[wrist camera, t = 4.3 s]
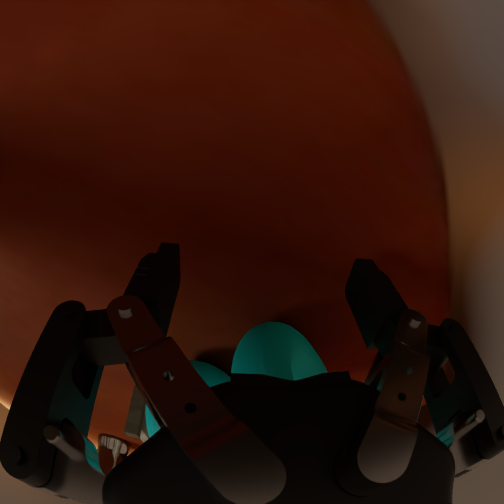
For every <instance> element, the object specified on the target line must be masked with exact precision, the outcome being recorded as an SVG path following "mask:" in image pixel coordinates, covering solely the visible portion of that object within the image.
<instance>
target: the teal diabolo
mask: <svg viewBox="0 0 504 504" xmlns="http://www.w3.org/2000/svg"><path fill="white" fill-rule="evenodd" d="M189 362H190V363H191V364H192V366H193V367H194V368H195V370H196V371H197V372H198V374H199V375H200V376H201V377H202V379H203V380H204V381H205V383H206V384H207V385H208V386H209V388H210V387H212V386H214V385H217V384H221V383H224V382H230V380H231V377H230V376H228V375H227V374H226V373H225V372H223V371H222V370H220V369H219V368H217V367H215V366H213V365H211V364H208V363H206V362H202V361H195V360H189ZM231 373H245V374H264V375H269V376H273V377H278V378H283V379H288V380H299V379H303V378H307V377H310V376H314V375H317V374H321V373H328V372H327V370H326V368H325V366H324V364H323V362H322V361H321V359H320V357H319V356H318V354H317V353H316V351H315V350H314V348H313V347H312V346H311V344H310V343H309V342H308V340H307V339H306V338H305V337H304V336H303V335H302V334H301V333H300V332H298V331H297V330H296V329H294V328H293V327H291V326H289V325H287V324H284V323H281V322H265V323H261V324H259V325H257V326H255V327H253V328H252V329H251V330H249V331H248V332H247V333H246V334H245V335H244V337H243V338H242V339H241V341H240V342H239V344H238V346H237V349H236V351H235V354H234V357H233V362H232V369H231ZM145 416H146V426H147V430H148V434H149V437H151V436H152V435H154V434H155V433H156V432H157V431H158V430H159V429H160V427H159V425H158V424H157V422H156V421H155V419H154V417H153V416H152V414H151V412H150V410H149V409H148V407H147V405H146V410H145Z"/></svg>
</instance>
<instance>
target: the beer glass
mask: <svg viewBox="0 0 504 504" xmlns="http://www.w3.org/2000/svg"><path fill="white" fill-rule="evenodd" d="M130 448H131V445H130V444H129V443H128V442H126V441H124V440H122V439H120V438H117V437H114V436H111V435H108V434H99V435H98V448H97V452H98V458H99V466H100V469H101V471H102V472H103V474H104V475H105V476H107V475H108V473H109V472H110V471H111V470H112V468H114V467H115V466H116V465H117V464H118V463H120V462H121V461H122V460H123V459H125V458H126V457H127V455H128V453H129V451H130Z"/></svg>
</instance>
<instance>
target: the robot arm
mask: <svg viewBox="0 0 504 504" xmlns="http://www.w3.org/2000/svg"><path fill="white" fill-rule="evenodd" d="M179 285H180V251H179V244H174V243H161V245H160V247H159V249H158V251H157V253H149V254H147V255H146V256H145V257H144V258H142V259H141V261H140V263H139V265H138V267H137V269H136V270H135V272H134V274H133V276H132V278H131V280H130V282H129V284H128V286H127V288H126V290H125V292H124V295H123V296H119V297H117V298H115V299H113V300H112V301H111V302H110V303H109V305H108V307H107V309H102V310H93V311H86V309H85V306H84V305H83V304H82V303H81V302H79V301H74V300H71V301H66V302H63V303H61V304H60V305H58V306H57V307H56V308H55V310H54V311H53V313H52V315H51V317H50V318H49V320H48V322H47V324H46V326H45V328H44V330H43V332H42V334H41V336H40V338H39V340H38V342H37V344H36V346H35V348H34V350H33V352H32V354H31V357H30V359H29V361H28V363H27V366H26V368H25V370H24V373H23V375H22V378H21V380H20V383H19V385H18V388H17V390H16V393H15V396H14V398H13V401H12V404H11V407H10V410H9V413H8V416H7V420H6V423H5V426H4V430H3V434H2V437H1V441H0V462H1V464H2V466H3V468H4V469H5V470H6V472H7V473H9V474H10V475H11V476H13V477H14V478H16V479H18V480H20V481H23V482H25V483H26V484H27V485H29V486H31V487H33V488H36V489H38V490H40V491H43V492H45V493H48V494H51V495H56V496H59V497H61V498H67V499H68V498H70V499H73V500H75V501H78V502H81V503H84V504H452V490H453V482H454V477H459V476H461V475H463V474H465V473H467V472H469V471H471V470H472V469H474V468H476V467H478V466H479V465H481V464H483V463H484V462H486V461H488V460H489V459H491V458H492V457H494V456H496V455H497V454H499V453H500V452H502V451H503V450H504V406H503V404H502V401H501V399H500V397H499V394H498V392H497V390H496V388H495V386H494V384H493V381H492V380H491V377H490V376H489V373H488V371H487V370H486V368H485V366H484V364H483V362H482V360H481V358H480V356H479V354H478V352H477V351H476V349H475V347H474V345H473V343H472V342H471V340H470V338H469V337H468V335H467V333H466V332H465V330H464V328H463V327H462V326H461V324H460V323H458V322H457V321H455V320H453V319H450V318H446V319H444V320H443V321H442V323H441V325H440V326H435V325H430V324H428V321H427V319H426V318H425V316H424V315H422V314H421V313H420V312H418V311H416V310H414V309H408V307H407V306H406V304H405V302H404V301H403V299H402V298H401V296H400V294H399V293H398V291H396V288H395V287H394V285H393V284H392V282H391V281H390V279H389V278H388V276H386V275H385V274H384V273H383V272H382V271H380V270H379V269H378V267H377V266H376V264H375V263H374V261H373V260H371V259H359V258H358V259H356V260H355V262H354V264H353V267H352V270H351V273H350V275H349V278H348V281H347V283H346V287H345V296H346V299H347V301H348V303H349V306H350V308H351V310H352V313H353V315H354V317H355V320H356V322H357V325H358V327H359V329H360V332H361V334H362V337H363V339H364V342H365V344H366V347H367V349H374V348H378V352H377V354H376V355H375V358H374V360H373V363H372V365H371V368H370V370H369V372H368V375H367V377H366V379H365V382H364V383H362V382H359V381H355V380H351V378H350V375H349V371H345V372H332V373H321V374H317V375H314V376H310V377H307V378H303V379H299V380H288V379H283V378H278V377H273V376H269V375H264V374H245V373H231V380H230V382H224V383H221V384H217V385H214V386H212V387H210V388H209V386H208V385H207V384H206V383H205V381H204V380H203V379H202V377H201V376H200V375H199V374H198V372H197V371H196V370H195V368H194V367H193V366H192V364H191V363H190V362H189V360H188V359H187V358H186V356H185V355H184V353H183V352H182V351H181V349H180V348H179V346H178V345H177V344H176V342H175V341H174V340H173V338H171V337H170V336H169V337H167V338H166V335H167V331H168V327H169V323H170V319H171V315H172V312H173V308H174V304H175V300H176V297H177V293H178V289H179ZM448 359H449V360H450V362H451V364H452V367H453V369H454V371H455V379H454V381H453V383H452V384H451V385H450V384H449V381H448V379H447V377H446V374H445V372H444V370H443V368H442V366H443V365H444V364H445V363H446V361H447V360H448ZM123 363H125V365H126V367H127V369H128V371H129V373H130V375H131V377H132V379H133V381H134V383H135V384H136V386H137V388H138V390H139V392H140V394H141V395H142V397H143V399H144V401H145V403H146V405H147V407H148V409H149V410H150V412H151V414H152V416H153V417H154V419H155V421H156V422H157V424H158V425H159V427H160V429H159V430H158V431H157V432H156V433H155V434H154V435H152V436H151V437H150V438H149V439H148V440H147V441H145V442H144V443H143V444H142V445H141V446H139V447H138V448H137V449H136V450H135V451H133V452H132V453H131V454H130V455H128V456H127V457H126V458H125V459H123V460H122V461H121V462H120V463H118V464H117V465H116V466H115V467H114V468H112V470H111V471H110V472H109V473H108V475H107V476H105V475H104V474H103V472H102V471H101V469H100V466H99V458H98V452H97V449H96V447H95V446H94V444H93V443H92V442H91V441H90V440H89V439H88V438H87V436H88V430H89V425H90V421H91V416H92V412H93V407H94V403H95V399H96V395H97V391H98V387H99V383H100V379H101V376H102V372H103V369H104V365H114V364H123ZM423 395H424V398H425V400H426V403H427V406H428V409H429V412H430V415H431V418H432V421H433V424H434V427H435V431H436V434H437V437H435V436H434V435H433V434H431V433H430V432H429V431H427V430H426V429H425V428H424V427H422V426H421V425H420V424H418V423H417V419H418V415H419V412H420V408H421V404H422V399H423Z"/></svg>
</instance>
